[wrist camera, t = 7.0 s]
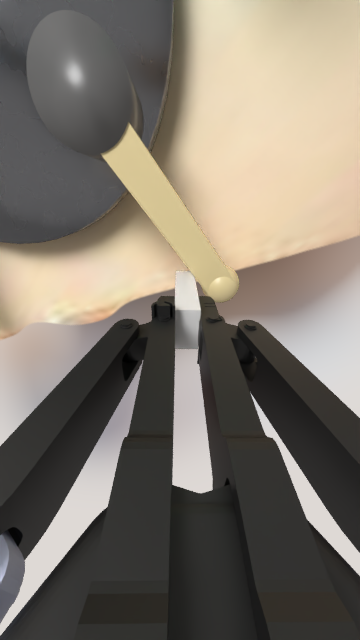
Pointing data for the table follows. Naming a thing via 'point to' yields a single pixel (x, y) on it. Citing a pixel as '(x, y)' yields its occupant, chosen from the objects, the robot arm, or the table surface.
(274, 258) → the table surface
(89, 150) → the knob
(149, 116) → the level base
